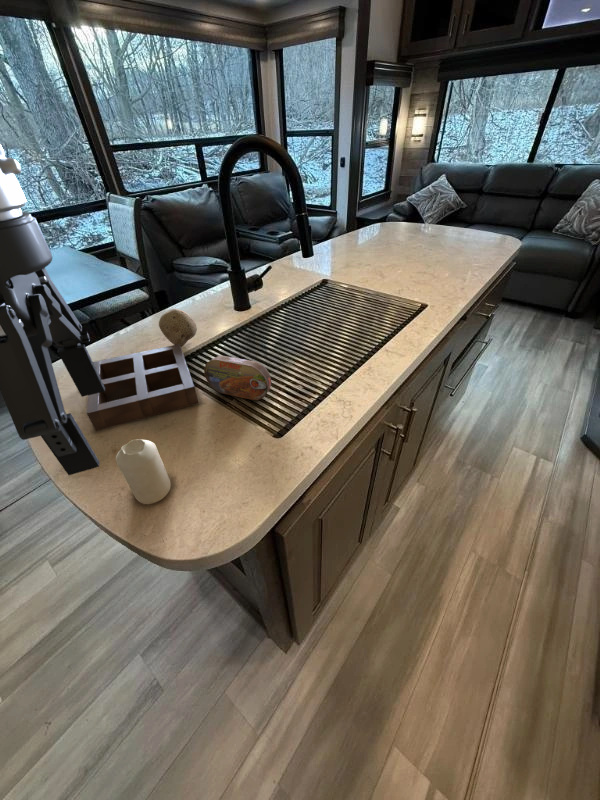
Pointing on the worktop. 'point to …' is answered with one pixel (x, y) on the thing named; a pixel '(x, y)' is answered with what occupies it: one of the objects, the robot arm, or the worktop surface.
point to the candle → (143, 471)
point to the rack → (141, 387)
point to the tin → (238, 377)
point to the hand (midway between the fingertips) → (89, 425)
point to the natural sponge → (177, 326)
